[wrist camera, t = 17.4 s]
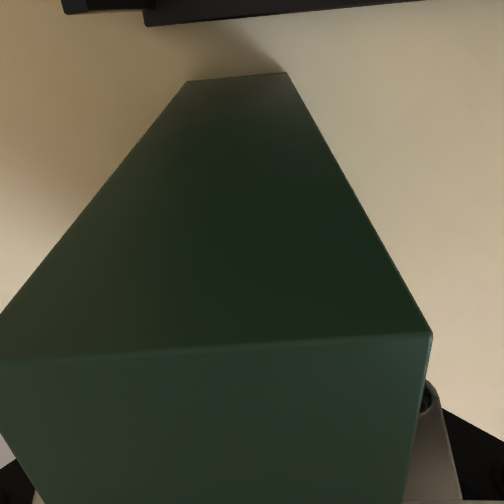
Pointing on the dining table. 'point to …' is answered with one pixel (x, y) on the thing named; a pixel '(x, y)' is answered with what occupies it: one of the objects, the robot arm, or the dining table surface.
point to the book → (217, 323)
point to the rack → (209, 8)
